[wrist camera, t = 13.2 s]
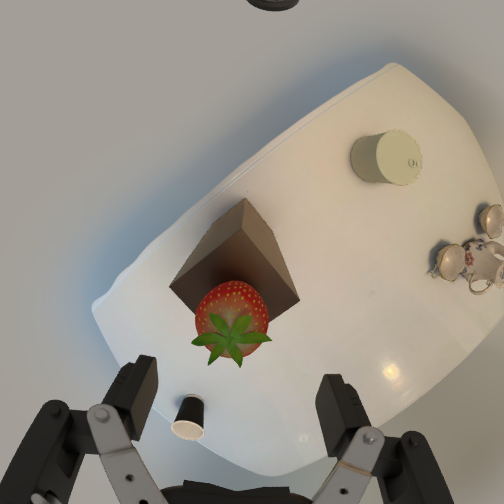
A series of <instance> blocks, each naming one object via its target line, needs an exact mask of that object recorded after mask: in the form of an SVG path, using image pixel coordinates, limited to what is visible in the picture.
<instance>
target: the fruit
mask: <svg viewBox="0 0 504 504" xmlns="http://www.w3.org/2000/svg"><path fill="white" fill-rule="evenodd" d="M268 321H269V315H268V311H267V307H266V305H265V303H264V301H263V299H262V298H261V296H260V295H259V293H258V292H257V291H256V290H255V289H254V288H253V287H252V286H250V285H249V284H247V283H245V282H242V281H229V282H226V283H223V284H221V285H219V286H217V287H215V288H214V289H213V290H211V291H210V292H209V293H208V294H207V295H206V296H205V297H204V298H203V300H202V301H201V302H200V304H199V306H198V308H197V311H196V316H195V325H196V329H197V333H198V335H199V336H198V337H197V338H195V339H194V340H193V341H192V342H191V343H192V344H194V345H196V346H204V345H205V347H206V348H207V349H208V350H210V351H211V355H210V358H209V361H208V365H210V364H211V363H212V362H214V361H215V360H216V359H217V358H218V357H219V356H221V357H226V358H233V360H234V361H235V362H236V363H237V364H238V365H239V367H240V368H241V365H242V361H243V357H245V356H248V355H250V354H251V353H252V352H254V351H255V350H256V349H257V348H258V347H259V346H260V345H261V344H262V342H266V341H272V340H271V339H270V338H269V337H268V336H267V335H266V333H267V329H268Z"/></svg>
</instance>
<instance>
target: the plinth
mask: <svg viewBox="0 0 504 504" xmlns="http://www.w3.org/2000/svg"><path fill="white" fill-rule="evenodd" d="M229 281H242V282H245V283H247V284H249V285H250V286H252V287H253V288H254V289H255V290H256V291H257V292H258V293H259V295H260V296H261V298H262V299H263V301H264V303H265V305H266V307H267V311H268V315H269V321H268V323H269V322H270V321H272V320H273V319H275V318H276V317H278V316H279V315H281V314H282V313H283V312H285V311H286V310H288V309H289V308H291V307H292V306H293V305H295V304H296V303H298V302H299V301H300V299H299V296H298V294H297V291H296V289H295V286H294V284H293V281H292V279H291V276H290V274H289V271H288V269H287V266H286V264H285V261H284V259H283V256H282V254H281V251H280V249H279V246H278V244H277V241H276V239H275V236H274V234H273V232H272V230H271V229H270V227H269V226H268V225H267V224H266V222H265V221H264V220H263V219H262V217H261V216H260V215H259V213H258V212H257V211H256V210H255V208H254V207H253V206H252V205H251V203H250V202H249V201H248V200H247V199H246V198H244V199H243V200H242V201H241V202H239V203H238V204H237V205H236V206H234V207H233V208H232V209H231V210H229V211H228V212H227V213H226V214H224V215H223V216H222V217H221V218H219V219H218V220H217V221H216V222H215V223H213V224H212V225H211V227H210V228H209V230H208V231H207V232H206V234H205V235H204V237H203V238H202V239H201V241H200V242H199V244H198V245H197V246H196V248H195V249H194V251H193V252H192V254H191V255H190V256H189V258H188V259H187V261H186V262H185V264H184V265H183V267H182V268H181V269H180V271H179V272H178V274H177V275H176V277H175V278H174V280H173V281H172V283H171V284H170V286H169V287H170V288H171V289H172V290H173V292H174V293H175V294H176V295H177V296H178V297H179V298H180V299H181V300H182V301H183V302H184V304H185V305H186V306H187V307H188V308H189V309H190V310H191V311H192V312H193V313H194V314H195V315H196V311H197V308H198V306H199V304H200V302H201V301H202V300H203V298H204V297H205V296H206V295H207V294H208V293H209V292H210V291H211V290H213V289H214V288H215V287H217V286H219V285H221V284H223V283H226V282H229Z"/></svg>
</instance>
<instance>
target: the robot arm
mask: <svg viewBox="0 0 504 504" xmlns="http://www.w3.org/2000/svg"><path fill="white" fill-rule="evenodd" d="M263 1H266V2H274V3H277V2H284V1H287V0H263ZM157 389H158V373H157V361H156V358H155V357H151V356H146V355H139V357H138V359H137V361H136V363H135V364H134V363H130V362H129V363H127V364H126V365H125V366H123V367H122V368H121V369H120V371H119V373H118V374H117V377H116V378H115V380H114V382H113V383H112V385H111V387H110V389H109V390H108V392H107V394H106V396H105V398H104V399H103V401H102V403H101V404H97V405H94V406H92V407H91V408H90V409H89V410H88V411H81V410H70V409H69V407H68V406H67V404H66V403H65V402H63V401H60V400H50V401H48V402H46V403H45V404H44V405H43V406H42V408H41V409H40V411H39V413H38V414H37V416H36V418H35V419H34V421H33V423H32V424H31V426H30V428H29V429H28V431H27V433H26V435H25V437H24V438H23V440H22V442H21V444H20V445H19V448H18V449H17V451H16V453H15V455H14V457H13V459H12V461H11V463H10V465H9V467H8V469H7V471H6V473H5V475H4V477H3V479H2V481H1V483H0V504H68V501H69V498H70V495H71V492H72V489H73V486H74V483H75V480H76V477H77V474H78V471H79V469H80V466H81V464H82V461H83V458H84V456H85V454H97V455H99V457H100V459H101V462H102V464H103V467H104V469H105V472H106V474H107V476H108V479H109V481H110V483H111V485H112V487H113V489H114V492H115V494H116V496H117V498H118V500H119V502H120V503H121V504H358V503H359V501H360V500H361V498H362V496H363V494H364V492H365V490H366V488H367V486H368V484H369V482H370V480H371V478H372V476H375V477H377V480H378V484H379V488H380V491H381V495H382V499H383V503H384V504H454V502H453V499H452V497H451V494H450V492H449V489H448V487H447V485H446V482H445V480H444V477H443V475H442V473H441V471H440V468H439V466H438V464H437V461H436V460H435V457H434V455H433V453H432V451H431V448H430V446H429V444H428V442H427V440H426V438H425V437H424V436H423V435H422V434H421V433H419V432H416V431H408V432H406V433H404V434H403V435H402V437H401V438H396V437H387V436H384V434H383V433H382V432H381V431H380V430H379V429H377V428H375V427H372V426H371V423H370V421H369V419H368V416H367V414H366V412H365V409H364V407H363V405H362V403H361V400H360V399H359V396H358V394H357V391H356V390H355V389H354V388H353V387H352V386H351V385H350V384H345V383H344V381H343V379H342V376H341V375H340V374H325V375H324V376H323V379H322V382H321V384H320V387H319V390H318V393H317V395H316V401H315V405H316V410H317V414H318V418H319V422H320V426H321V430H322V433H323V437H324V441H325V445H326V449H327V453H328V457H337V460H338V461H337V463H336V464H335V466H334V468H333V470H332V471H331V472H330V474H329V475H328V477H327V478H326V480H325V481H324V483H323V484H322V486H321V487H320V488H319V490H318V491H317V493H316V494H315V495H314V497H313V498H312V499H311V500H310V499H308V498H306V497H304V496H301V495H298V494H295V493H290V491H289V487H261V488H256V489H250V490H243V491H233V490H230V489H226V488H223V487H219V486H216V485H213V484H210V483H202V482H194V481H188V480H184V482H183V485H181V486H172V487H167V488H164V489H161V490H159V488H158V487H157V485H156V483H155V482H154V480H153V478H152V477H151V475H150V473H149V472H148V470H147V468H146V466H145V465H144V463H143V461H142V459H141V457H140V455H139V453H138V452H137V450H136V448H135V447H134V446H133V444H132V443H131V440H135V441H139V440H140V436H141V434H142V431H143V428H144V426H145V423H146V420H147V417H148V415H149V412H150V409H151V406H152V404H153V401H154V398H155V396H156V393H157Z"/></svg>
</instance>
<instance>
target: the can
mask: <svg viewBox="0 0 504 504" xmlns="http://www.w3.org/2000/svg"><path fill="white" fill-rule="evenodd" d="M351 164H352V167H353V169H354V171H355V173H356V174H357V175H358V176H359V177H360V178H361V179H363V180H364V181H367V182H371V183H376V182H380V183H389V184H395V185H399V186H403V185H408V184H410V183H412V182H413V181H414V180H415V179H416V178H417V177H418V175H419V173H420V171H421V167H422V155H421V151H420V148H419V146H418V144H417V142H416V141H415V139H414V138H413V137H412V136H411V135H409V134H408V133H406V132H404V131H401V130H391V131H388V132H385V133H382V134H378V135H374V136H368V137H363V138H361V139H359V140H358V141H357V142H356V143H355V144H354V146H353V148H352V151H351Z"/></svg>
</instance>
